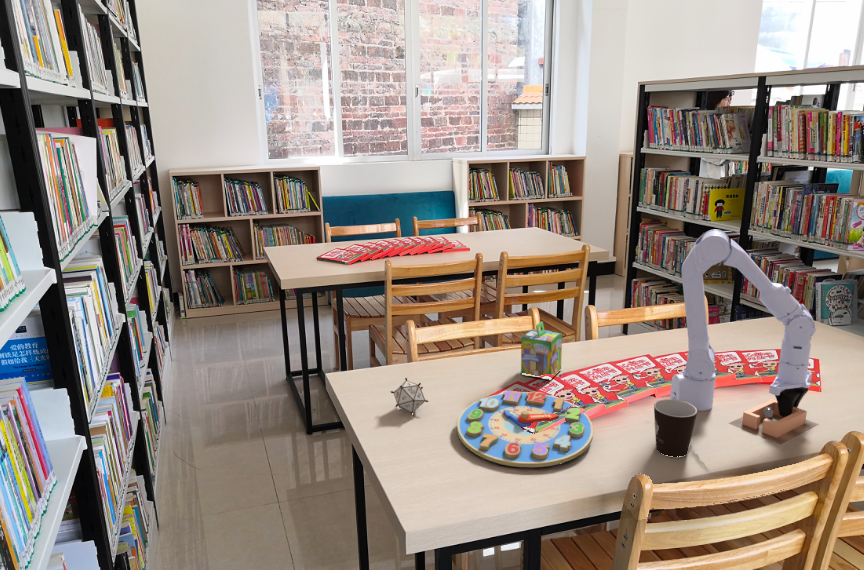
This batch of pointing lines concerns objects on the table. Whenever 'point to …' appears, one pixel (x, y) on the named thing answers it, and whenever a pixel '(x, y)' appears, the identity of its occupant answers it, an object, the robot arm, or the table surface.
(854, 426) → the table surface
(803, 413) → the c link
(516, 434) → the shape sorting clock
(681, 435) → the coffee mug
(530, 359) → the chalk box
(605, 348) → the table surface
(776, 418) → the stand base
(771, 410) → the hook post
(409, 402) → the game die
